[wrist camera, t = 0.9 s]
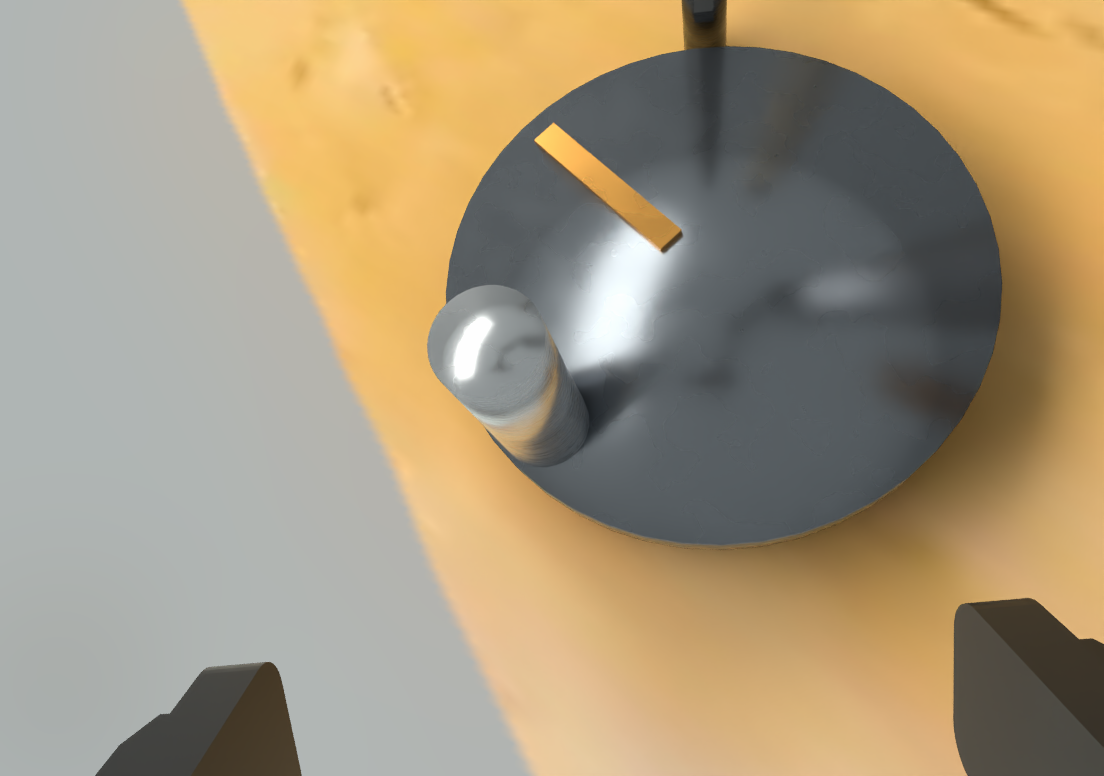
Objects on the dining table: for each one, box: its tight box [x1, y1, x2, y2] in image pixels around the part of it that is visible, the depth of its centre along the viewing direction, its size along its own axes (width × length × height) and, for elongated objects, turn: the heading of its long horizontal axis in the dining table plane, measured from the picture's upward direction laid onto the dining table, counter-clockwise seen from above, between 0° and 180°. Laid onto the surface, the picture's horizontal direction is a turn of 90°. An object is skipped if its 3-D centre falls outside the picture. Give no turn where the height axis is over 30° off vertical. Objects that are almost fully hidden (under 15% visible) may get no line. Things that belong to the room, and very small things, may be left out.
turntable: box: [427, 46, 1002, 550], centre depth 31 cm, size 22×22×10 cm
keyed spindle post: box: [682, 0, 727, 50], centre depth 36 cm, size 13×19×6 cm, turn 22°
